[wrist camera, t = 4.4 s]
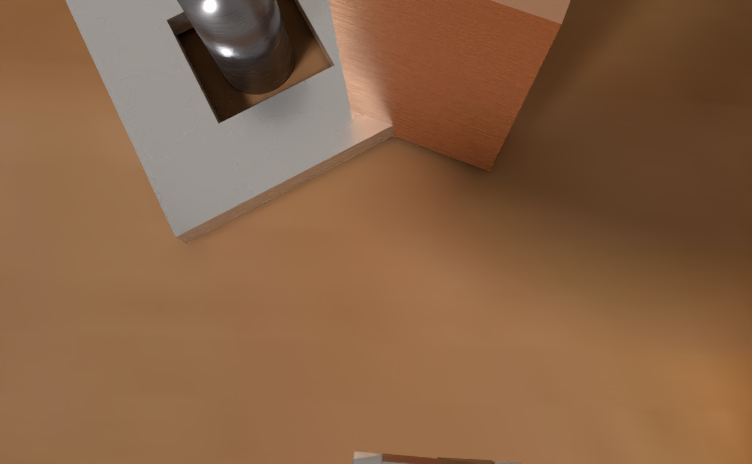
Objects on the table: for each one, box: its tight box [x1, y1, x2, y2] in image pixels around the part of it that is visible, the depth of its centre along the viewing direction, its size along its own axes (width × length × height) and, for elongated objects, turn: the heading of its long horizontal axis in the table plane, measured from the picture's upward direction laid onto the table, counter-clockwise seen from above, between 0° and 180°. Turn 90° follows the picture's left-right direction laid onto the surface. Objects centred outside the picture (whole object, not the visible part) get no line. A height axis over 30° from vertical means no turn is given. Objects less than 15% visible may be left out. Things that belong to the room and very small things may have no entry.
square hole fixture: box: [66, 0, 571, 243], centre depth 20 cm, size 15×14×11 cm
